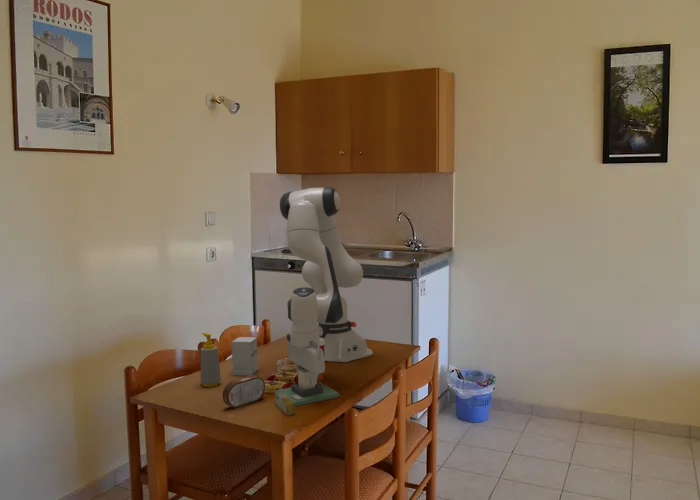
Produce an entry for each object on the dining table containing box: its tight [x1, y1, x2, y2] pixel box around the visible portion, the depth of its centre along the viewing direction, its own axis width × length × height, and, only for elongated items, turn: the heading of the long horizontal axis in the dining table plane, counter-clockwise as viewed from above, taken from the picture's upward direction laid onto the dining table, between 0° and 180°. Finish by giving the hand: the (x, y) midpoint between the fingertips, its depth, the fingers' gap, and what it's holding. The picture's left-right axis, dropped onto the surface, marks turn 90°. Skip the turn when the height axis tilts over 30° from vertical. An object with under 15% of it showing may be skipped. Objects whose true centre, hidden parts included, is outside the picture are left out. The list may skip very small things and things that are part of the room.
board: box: [275, 381, 340, 407], centre depth 208 cm, size 16×14×3 cm
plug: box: [297, 367, 315, 390], centre depth 208 cm, size 4×4×8 cm
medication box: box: [274, 391, 296, 417], centre depth 196 cm, size 12×3×4 cm, turn 25°
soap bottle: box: [200, 332, 222, 388], centre depth 221 cm, size 7×7×18 cm
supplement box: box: [231, 336, 259, 377], centre depth 234 cm, size 7×7×13 cm
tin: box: [222, 374, 266, 408], centre depth 202 cm, size 15×3×8 cm, turn 136°
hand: (306, 380), depth 208 cm, fingers open, 8 cm apart
